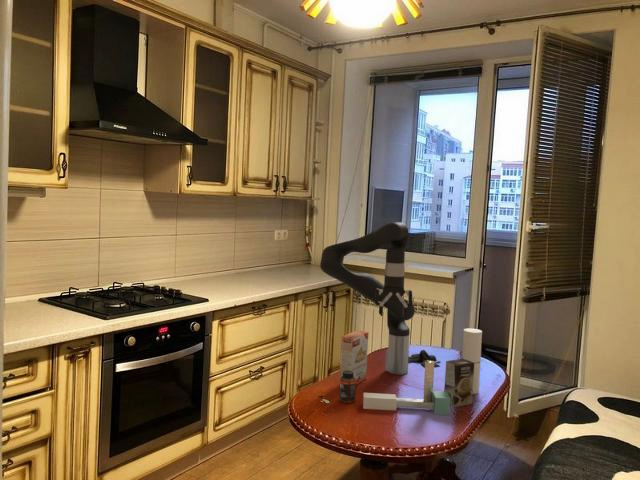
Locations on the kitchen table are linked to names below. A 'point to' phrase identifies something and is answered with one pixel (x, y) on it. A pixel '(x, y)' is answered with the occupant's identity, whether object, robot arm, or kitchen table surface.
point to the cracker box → (354, 354)
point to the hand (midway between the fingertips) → (392, 316)
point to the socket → (441, 402)
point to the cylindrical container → (473, 353)
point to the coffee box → (459, 381)
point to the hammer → (428, 391)
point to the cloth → (423, 358)
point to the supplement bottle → (347, 387)
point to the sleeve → (379, 401)
